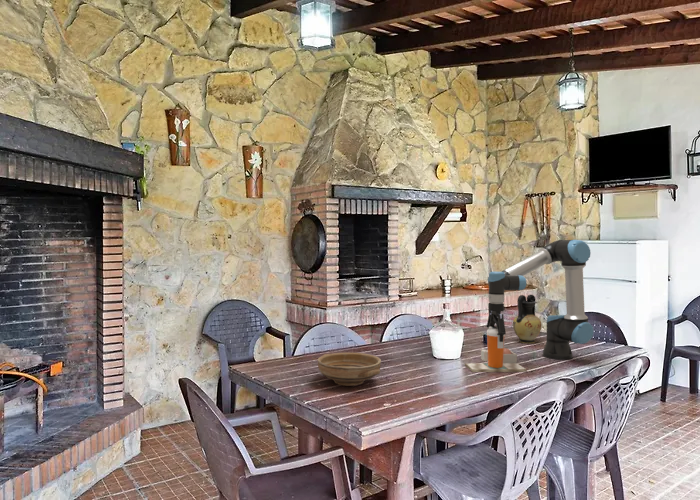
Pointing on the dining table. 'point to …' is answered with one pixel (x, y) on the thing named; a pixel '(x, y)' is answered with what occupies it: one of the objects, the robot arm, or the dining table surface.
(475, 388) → the dining table surface
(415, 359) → the dining table surface
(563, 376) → the dining table surface
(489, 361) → the shaker bottle
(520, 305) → the amphora
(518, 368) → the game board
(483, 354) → the die
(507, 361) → the dome collar
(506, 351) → the dome button
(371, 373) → the ceramic bowl
